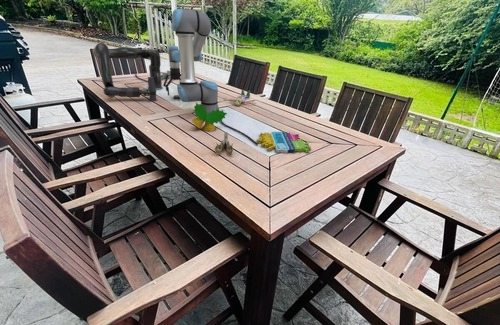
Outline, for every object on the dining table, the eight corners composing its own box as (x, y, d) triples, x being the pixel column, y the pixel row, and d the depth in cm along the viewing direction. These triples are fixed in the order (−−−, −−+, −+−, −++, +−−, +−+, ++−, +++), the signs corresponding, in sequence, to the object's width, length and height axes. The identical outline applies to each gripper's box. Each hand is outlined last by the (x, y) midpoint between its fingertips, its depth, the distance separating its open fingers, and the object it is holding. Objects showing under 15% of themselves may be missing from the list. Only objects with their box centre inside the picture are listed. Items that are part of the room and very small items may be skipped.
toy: (261, 91, 228) (254, 99, 202) (261, 99, 231) (253, 108, 205) (231, 87, 233) (220, 95, 207) (230, 95, 236) (219, 104, 210)
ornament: (218, 133, 171) (224, 110, 169) (221, 134, 163) (227, 111, 161) (186, 125, 162) (192, 101, 160) (189, 126, 155) (195, 101, 153)
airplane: (149, 74, 290) (148, 65, 285) (178, 73, 303) (177, 64, 298) (156, 82, 262) (155, 72, 257) (187, 81, 275) (186, 71, 270)
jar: (152, 101, 206) (149, 78, 197) (148, 100, 208) (145, 77, 199) (157, 100, 209) (155, 77, 201) (154, 99, 212) (151, 76, 203)
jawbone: (234, 135, 144) (233, 125, 135) (233, 160, 138) (232, 151, 129) (217, 135, 144) (216, 125, 135) (216, 160, 138) (214, 150, 129)
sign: (313, 150, 142) (258, 149, 139) (312, 153, 143) (258, 152, 140) (301, 132, 164) (254, 130, 161) (301, 134, 165) (254, 133, 162)
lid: (180, 99, 215) (180, 96, 214) (173, 99, 213) (173, 97, 212) (180, 97, 220) (179, 95, 219) (173, 97, 218) (173, 95, 217)
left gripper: (130, 89, 194) (154, 89, 198) (133, 85, 206) (156, 85, 210) (132, 99, 198) (155, 99, 202) (135, 94, 210) (157, 94, 214)
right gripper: (189, 66, 212) (190, 92, 222) (157, 67, 202) (160, 94, 212) (191, 68, 206) (193, 95, 216) (159, 68, 196) (162, 96, 206)
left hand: (155, 92), depth 206 cm, fingers closed on jar, 5 cm apart
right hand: (177, 94), depth 214 cm, fingers open, 13 cm apart
